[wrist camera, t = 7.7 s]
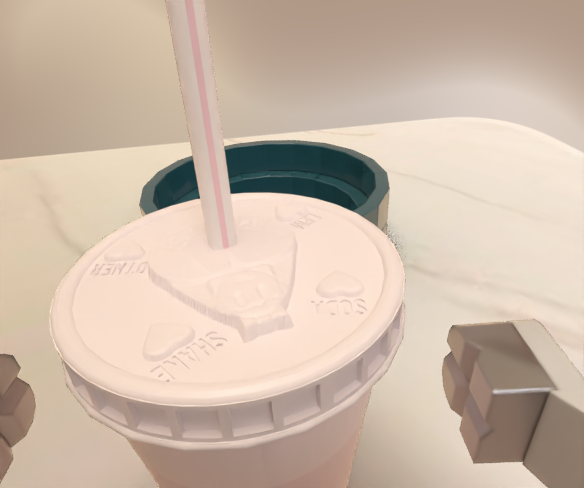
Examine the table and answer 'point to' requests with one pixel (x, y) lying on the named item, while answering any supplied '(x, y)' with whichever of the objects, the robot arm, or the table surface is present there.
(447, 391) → the robot arm
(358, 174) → the bowl
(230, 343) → the smoothie
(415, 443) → the table surface
